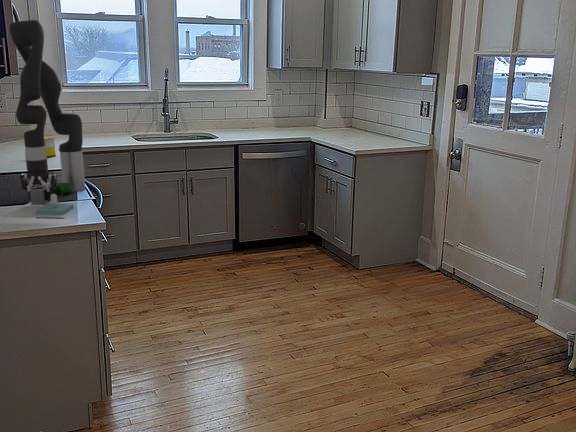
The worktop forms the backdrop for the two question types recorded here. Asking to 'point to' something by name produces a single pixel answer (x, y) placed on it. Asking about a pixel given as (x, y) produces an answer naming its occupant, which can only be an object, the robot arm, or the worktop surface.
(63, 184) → the clamp
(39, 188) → the metal collar
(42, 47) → the robot arm
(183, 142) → the worktop surface
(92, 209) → the worktop surface
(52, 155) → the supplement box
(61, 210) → the block
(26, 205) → the rod stand
